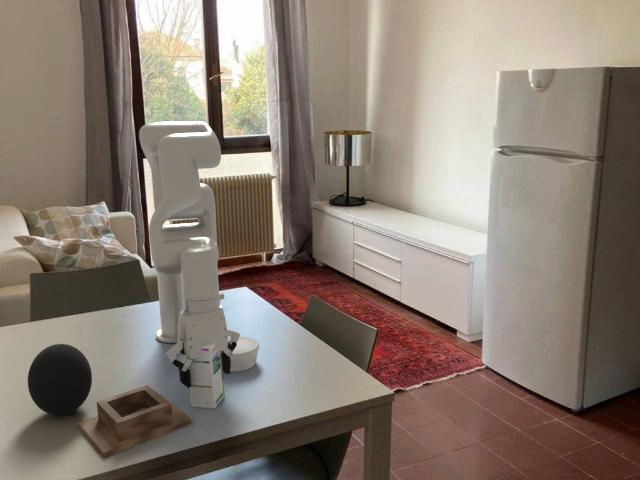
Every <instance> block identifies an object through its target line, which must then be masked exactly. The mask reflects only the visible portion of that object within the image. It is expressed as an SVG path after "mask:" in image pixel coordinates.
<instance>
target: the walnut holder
mask: <svg viewBox="0 0 640 480" xmlns="http://www.w3.org/2000/svg"><path fill="white" fill-rule="evenodd" d="M96 409H97V415H96V416H94V417H90V418H88V419H85V420H82V421H79V422H78V427H79V429H80V430H81V431H82V433H84V436H86V437H87V439H88V440H89V441H90V442H91V443H92V445H93V446H95V448H96V449H97V450H98V452H99V453H100V454H101V456H103V458H106V457H109V456H113V455H115V454H116V453H120V452H122V451H125V450H127V449H131V448H132V447H135V446H138V445H140V444H143V443H146V442H147V441H151V440H153V439H155V438H159V437H161V436H164V435H165V434H169V433H171V432H173V431H176V430H179V429H182V428H184V427H186V426H187V427H188V426H190V425H191V424H192V423H193V420H192V418H191V417H190V416H189V415H187V413H185V412H184V411H182V410H181V409H180V408H179V407H177V405H175V404H174V403H173V402H172V401H170V400H169V399H168V398H167V397H165V396H164V395H163V394H159V393H158V392H157V391H156V390H155V389H153V388H152V387H151V386H150V385H149V384H147V385H143V386H140V387H138V388H133V389H132V390H128V391H125V392H122V393H119V394H115V395H113V396H110V397H106V398H104V399H101V400H98V401H97V400H96Z"/></svg>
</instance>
